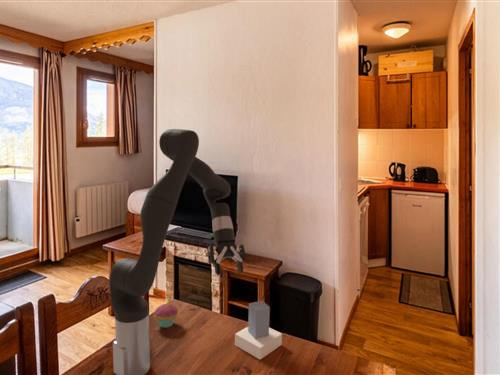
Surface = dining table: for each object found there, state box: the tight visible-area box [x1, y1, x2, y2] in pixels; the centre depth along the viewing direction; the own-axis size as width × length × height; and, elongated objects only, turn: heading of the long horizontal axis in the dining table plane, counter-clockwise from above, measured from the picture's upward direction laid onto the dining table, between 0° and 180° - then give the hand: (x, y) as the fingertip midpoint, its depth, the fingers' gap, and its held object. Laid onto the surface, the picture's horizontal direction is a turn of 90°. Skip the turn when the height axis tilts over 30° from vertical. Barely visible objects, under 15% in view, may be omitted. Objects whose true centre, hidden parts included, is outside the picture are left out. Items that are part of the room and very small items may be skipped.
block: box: [247, 300, 271, 339], centre depth 115 cm, size 5×5×10 cm
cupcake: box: [153, 291, 179, 329], centre depth 126 cm, size 9×8×12 cm
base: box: [234, 326, 283, 361], centre depth 116 cm, size 11×11×4 cm
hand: (230, 274), depth 124 cm, fingers open, 8 cm apart
